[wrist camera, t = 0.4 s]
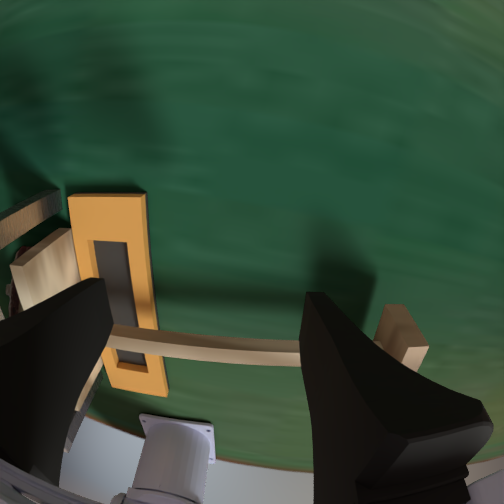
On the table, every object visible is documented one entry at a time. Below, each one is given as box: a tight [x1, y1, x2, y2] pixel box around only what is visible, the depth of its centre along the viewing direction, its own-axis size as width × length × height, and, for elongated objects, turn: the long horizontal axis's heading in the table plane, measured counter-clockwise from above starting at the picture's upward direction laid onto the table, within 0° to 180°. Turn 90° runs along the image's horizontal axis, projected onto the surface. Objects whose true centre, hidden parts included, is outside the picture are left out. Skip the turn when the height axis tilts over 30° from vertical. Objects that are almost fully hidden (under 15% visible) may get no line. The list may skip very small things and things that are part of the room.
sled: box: [10, 228, 429, 411], centre depth 20 cm, size 13×25×6 cm, turn 87°
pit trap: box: [68, 192, 169, 397], centre depth 22 cm, size 18×6×1 cm, turn 177°
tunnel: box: [0, 189, 103, 453], centre depth 18 cm, size 19×10×10 cm, turn 177°
